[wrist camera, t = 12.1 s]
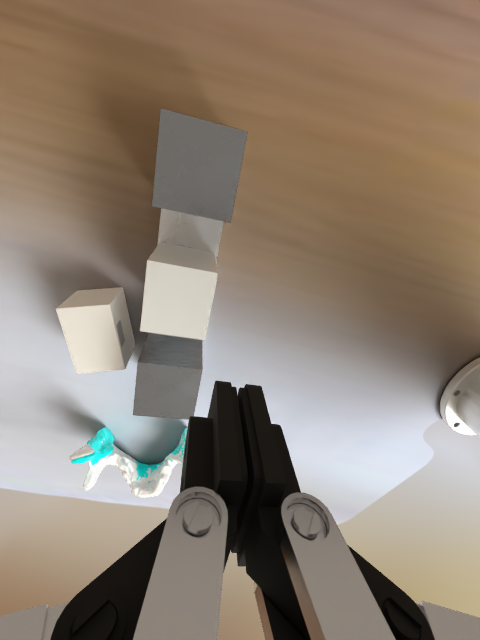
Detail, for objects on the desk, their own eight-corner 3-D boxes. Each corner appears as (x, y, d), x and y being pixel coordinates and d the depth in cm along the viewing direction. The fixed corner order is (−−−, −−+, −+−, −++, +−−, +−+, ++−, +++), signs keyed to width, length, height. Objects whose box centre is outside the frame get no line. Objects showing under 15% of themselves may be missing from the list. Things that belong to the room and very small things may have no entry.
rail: (236, 140, 23) (251, 122, 17) (194, 373, 32) (193, 424, 25) (172, 123, 22) (159, 96, 16) (146, 368, 31) (131, 419, 24)
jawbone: (101, 482, 36) (66, 538, 27) (103, 416, 36) (67, 451, 27) (201, 477, 37) (200, 530, 28) (203, 415, 37) (202, 447, 28)
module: (214, 253, 25) (219, 273, 19) (204, 306, 27) (205, 340, 21) (159, 241, 24) (146, 259, 18) (152, 298, 26) (139, 331, 20)
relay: (123, 286, 27) (110, 304, 23) (135, 344, 30) (125, 369, 26) (77, 290, 27) (54, 308, 23) (93, 347, 29) (76, 374, 25)
